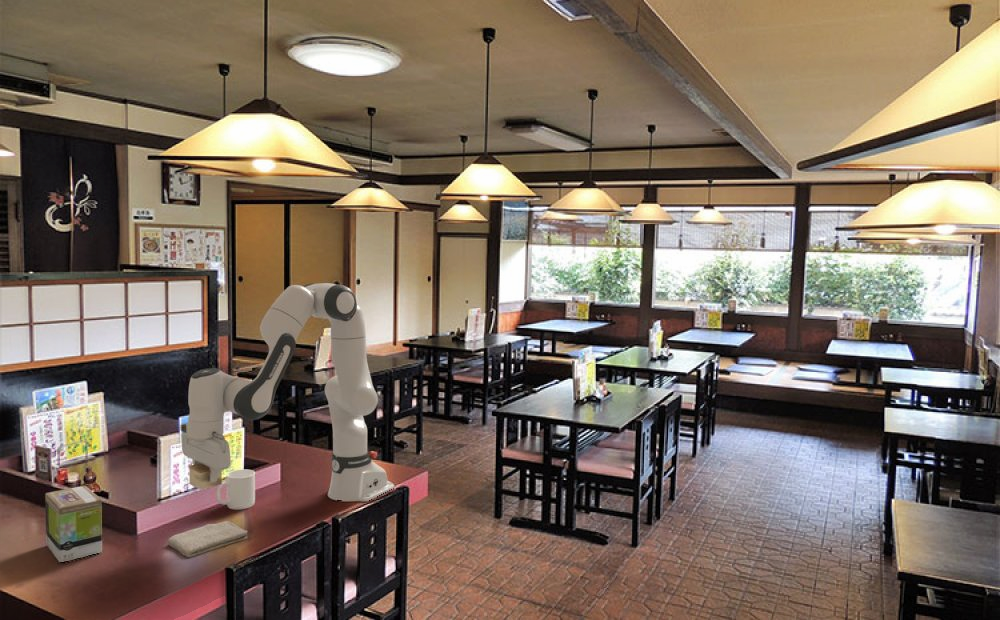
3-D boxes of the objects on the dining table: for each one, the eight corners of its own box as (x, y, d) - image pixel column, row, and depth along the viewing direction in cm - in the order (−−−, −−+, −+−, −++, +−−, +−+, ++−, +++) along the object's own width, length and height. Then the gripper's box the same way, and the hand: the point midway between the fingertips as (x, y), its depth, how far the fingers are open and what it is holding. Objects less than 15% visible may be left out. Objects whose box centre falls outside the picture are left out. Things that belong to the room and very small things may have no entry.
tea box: (104, 553, 179) (102, 498, 177) (59, 565, 172) (57, 508, 170) (87, 535, 189) (86, 483, 188) (45, 545, 182) (43, 492, 181)
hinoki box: (210, 478, 190) (210, 460, 190) (222, 484, 186) (222, 466, 186) (188, 483, 185) (188, 465, 185) (200, 489, 182) (200, 471, 181)
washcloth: (250, 539, 191) (250, 528, 190) (187, 560, 177) (187, 549, 176) (228, 527, 198) (228, 517, 198) (166, 547, 184) (166, 536, 184)
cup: (260, 504, 214) (260, 473, 213) (224, 515, 205) (223, 483, 204) (246, 498, 220) (245, 467, 219) (210, 508, 210) (210, 476, 209)
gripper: (236, 434, 181) (236, 484, 182) (199, 420, 194) (199, 467, 195) (214, 438, 176) (213, 490, 177) (177, 423, 189) (177, 472, 190)
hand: (205, 478), depth 186 cm, fingers closed on hinoki box, 6 cm apart
